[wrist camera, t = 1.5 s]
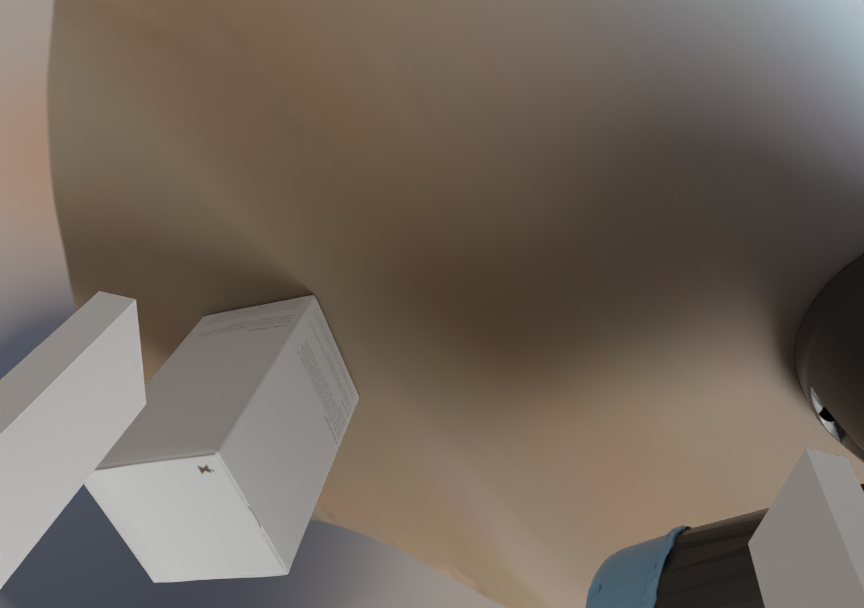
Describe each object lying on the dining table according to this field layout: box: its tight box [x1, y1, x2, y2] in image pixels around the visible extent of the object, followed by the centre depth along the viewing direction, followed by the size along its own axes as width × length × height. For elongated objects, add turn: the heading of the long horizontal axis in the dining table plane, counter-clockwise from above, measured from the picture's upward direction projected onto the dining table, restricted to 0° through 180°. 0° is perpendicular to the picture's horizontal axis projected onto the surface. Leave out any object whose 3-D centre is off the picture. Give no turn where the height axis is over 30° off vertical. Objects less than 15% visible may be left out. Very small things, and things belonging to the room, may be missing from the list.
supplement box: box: [84, 295, 359, 583], centre depth 42 cm, size 9×9×15 cm
